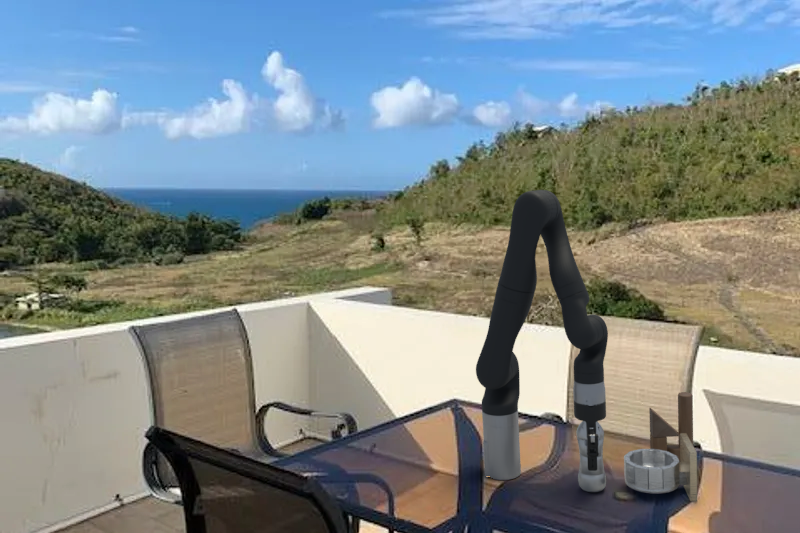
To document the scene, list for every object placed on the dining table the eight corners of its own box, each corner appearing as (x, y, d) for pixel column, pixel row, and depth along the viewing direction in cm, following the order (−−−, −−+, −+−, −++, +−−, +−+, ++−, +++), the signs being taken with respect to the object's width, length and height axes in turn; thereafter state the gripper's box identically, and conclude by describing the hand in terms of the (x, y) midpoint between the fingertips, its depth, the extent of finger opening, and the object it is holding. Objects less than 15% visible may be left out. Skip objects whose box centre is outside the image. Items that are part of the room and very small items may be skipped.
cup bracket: (628, 501, 187) (627, 453, 185) (622, 479, 199) (621, 433, 197) (697, 501, 184) (696, 452, 183) (686, 479, 197) (686, 433, 195)
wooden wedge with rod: (650, 458, 210) (648, 393, 208) (691, 456, 210) (690, 391, 207) (653, 464, 207) (652, 397, 204) (695, 462, 206) (695, 395, 203)
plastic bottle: (607, 495, 191) (605, 416, 187) (578, 495, 192) (575, 416, 189) (605, 484, 197) (603, 407, 194) (577, 483, 198) (575, 406, 195)
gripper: (571, 389, 198) (574, 453, 201) (575, 408, 184) (577, 477, 187) (602, 388, 197) (604, 453, 200) (608, 408, 183) (610, 477, 186)
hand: (591, 464), depth 193 cm, fingers closed on plastic bottle, 5 cm apart
